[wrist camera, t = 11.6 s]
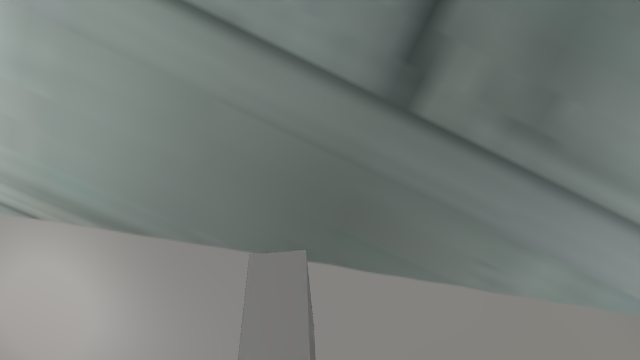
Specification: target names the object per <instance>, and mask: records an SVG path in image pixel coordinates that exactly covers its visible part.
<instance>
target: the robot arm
mask: <svg viewBox="0 0 640 360" xmlns="http://www.w3.org/2000/svg"><path fill="white" fill-rule="evenodd" d="M308 277H309V276H308V267H307V258H306V250H298V251H287V252H275V253H264V254H252V255H249V262H248V271H247V281H246V290H245V299H244V308H243V317H242V326H241V336H240V345H239V355H238V360H315V342H314V324H313V316H312V315H313V314H312V305H311V295H310V287H309V278H308Z"/></svg>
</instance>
